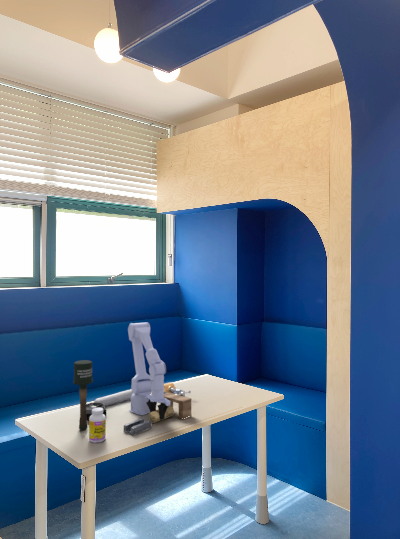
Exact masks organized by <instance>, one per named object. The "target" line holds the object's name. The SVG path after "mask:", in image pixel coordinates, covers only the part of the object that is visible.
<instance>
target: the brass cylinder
mask: <svg viewBox="0 0 400 539" xmlns="http://www.w3.org/2000/svg"><path fill="white" fill-rule="evenodd" d="M174 414H175V409H174V406H173V407H172V406H170V405H169V406H168V408H167V410H166V413H165V416H164V419H162V420H160V417H159V409H158V408H157V409H156V410H155V411H153V412H150V413H148V420H150V421H151V424H155V423H158V422H160V421H163V420H165V419H167V418H170V417H173V416H174Z"/></svg>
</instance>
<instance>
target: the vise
mask: <svg viewBox="0 0 400 539" xmlns="http://www.w3.org/2000/svg"><path fill="white" fill-rule="evenodd" d="M191 392H192V391H191V390H190V389H189V390H188V391H184V390H182V389H179V388H176V386H175V384H174V382H171V381H169V382H164V394H166V393H173V394H177V395H180V396H184V397H186V396H185V395H186V394H191Z"/></svg>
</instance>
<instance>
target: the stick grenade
mask: <svg viewBox="0 0 400 539" xmlns="http://www.w3.org/2000/svg"><path fill="white" fill-rule="evenodd" d="M92 383H94V379H93V361H91V360H88V359H85V360H84V359H82V360H76V361H75V362H73V381H72V384H73V385H78V386H79V387H78V388H79V390H78V392H79V393H78V394H79V414H80V415H79V423H78V424H79V425H78V429H79V431H82V432H83V431H87V430H88V428H89V425H88V420H87V417H86V404H87V397H88V385H90V384H92Z"/></svg>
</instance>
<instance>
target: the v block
mask: <svg viewBox="0 0 400 539" xmlns="http://www.w3.org/2000/svg"><path fill="white" fill-rule="evenodd" d="M150 429H152V422H151V421H150V420H149V419H148V420H146V421H145V418H143V417H142V418H138V419H135V420H133V421H131V422H129V423H125V424H124V425H123V432H124V433H126V434H128V435H130V436H131V435H132V436H135V435H137V434H139V433H143V432H145V431H147V430H150Z"/></svg>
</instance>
